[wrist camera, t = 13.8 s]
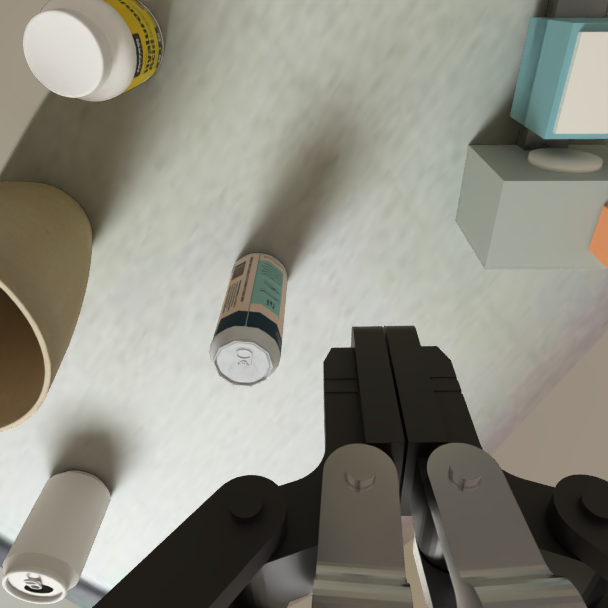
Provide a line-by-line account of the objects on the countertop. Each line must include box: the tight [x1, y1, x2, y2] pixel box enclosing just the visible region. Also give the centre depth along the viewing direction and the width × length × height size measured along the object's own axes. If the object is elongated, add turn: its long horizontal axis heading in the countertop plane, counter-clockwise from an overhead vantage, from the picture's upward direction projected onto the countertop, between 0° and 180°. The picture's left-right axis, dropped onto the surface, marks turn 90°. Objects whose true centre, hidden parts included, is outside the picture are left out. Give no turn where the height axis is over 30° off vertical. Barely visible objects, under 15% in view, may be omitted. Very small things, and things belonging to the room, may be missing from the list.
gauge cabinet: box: [456, 145, 608, 269], centre depth 34 cm, size 6×11×8 cm, turn 90°
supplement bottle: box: [23, 0, 164, 102], centre depth 29 cm, size 5×5×10 cm
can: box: [2, 470, 110, 604], centre depth 54 cm, size 8×8×12 cm
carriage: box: [510, 17, 608, 139], centre depth 30 cm, size 6×5×6 cm
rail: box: [517, 0, 608, 151], centre depth 31 cm, size 16×3×2 cm, turn 0°
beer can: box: [209, 253, 287, 387], centre depth 37 cm, size 5×5×12 cm
